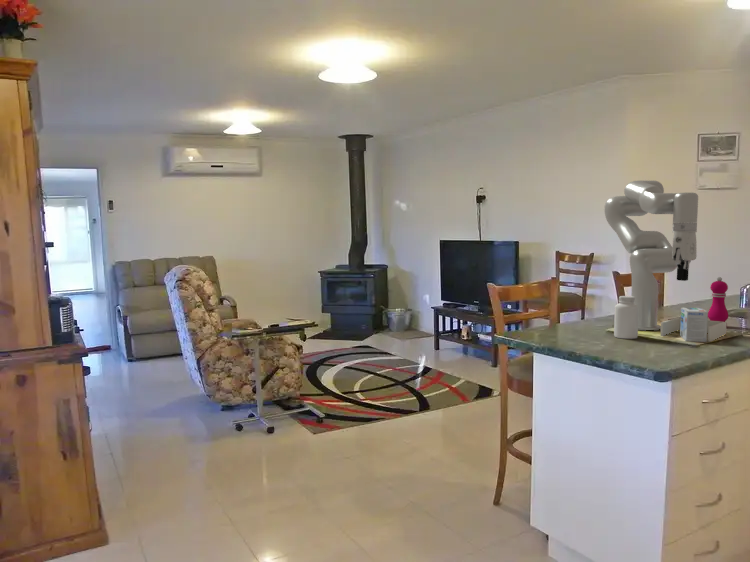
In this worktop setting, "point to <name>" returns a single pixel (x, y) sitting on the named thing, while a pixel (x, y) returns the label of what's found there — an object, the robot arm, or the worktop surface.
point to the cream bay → (713, 328)
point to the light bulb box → (694, 324)
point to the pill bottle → (626, 318)
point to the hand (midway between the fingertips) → (682, 280)
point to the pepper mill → (718, 301)
